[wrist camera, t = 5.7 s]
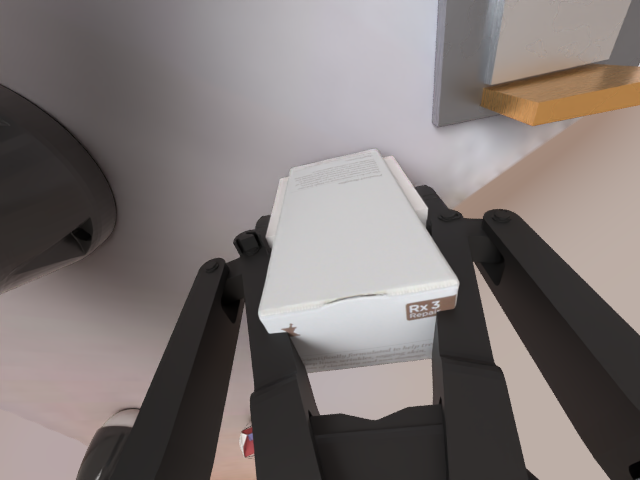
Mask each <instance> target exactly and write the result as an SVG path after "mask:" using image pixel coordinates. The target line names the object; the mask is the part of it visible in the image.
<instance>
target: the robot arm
mask: <svg viewBox="0 0 640 480" xmlns="http://www.w3.org/2000/svg"><path fill="white" fill-rule="evenodd" d="M383 159H384V160H385V162H386V164H387V166H388V167H389V169H390V170H391V172H392V174H393V175H394V177H395V178H396V180H397V182H398V183H399V185H400V187H401V188H402V190H403V192H404V193H405V195H406V196H407V198H408V200H409V201H410V203H411V205H412V206H413V208H414V209H415V211H416V213H417V214H418V216H419V218H420V219H421V221H422V223H423V224H424V226H425V227H426V229H427V231H428V232H429V234H430V236H431V237H432V239H433V240H434V242H435V244H436V245H437V247H438V248H439V250H440V252H441V253H442V255H443V256H444V258H445V259H446V261H447V262H448V264H449V266H450V267H451V269H452V270H453V272H454V273H455V275H456V276H457V278H458V280H459V288H458V295H457V303H456V306H455V308H454V309H450V310H444V311H438V312H437V314H436V322H435V331H434V339H433V348H432V376H433V405H426V406H415V407H407V408H405V409H402V410H400V411H397V412H396V413H393V414H391V415H388V416H386V417H383V418H381V419H379V420H369V419H364V418H359V417H355V416H350V415H345V414H330V415H320V414H319V411H318V409H317V406H316V403H315V399H314V396H313V393H312V389H311V385H310V382H309V378H308V375H307V371H306V368H305V365H304V364H303V362H302V360H301V358H300V356H299V354H298V352H297V350H296V348H295V346H294V344H293V342H292V340H291V338H290V336H289V334H288V332H281V333H268V331H267V330H266V328H265V326H264V325H263V323H262V322H261V320H260V318H259V315H258V309H259V305H260V301H261V297H262V293H263V289H264V285H265V281H266V276H267V271H268V266H269V261H270V257H271V252H272V248H273V243H274V238H275V234H276V229H277V225H278V221H279V216H280V212H281V208H282V203H283V198H284V194H285V189H286V186H287V181H288V177H285V178H280V181H279V185H278V189H277V193H276V197H275V201H274V205H273V209H272V213H271V215H268V216H262V217H261V218H260V219H259V220H258V221H257V224H256V227H255V230H248V231H245V232H243V233H241V234H239V235H238V236H237V237H236V238H235V239H234V242H233V243H234V245H235V247H236V249H237V251H238V253H239V255H240V258H238V259H236V260H233V261H231V262H228V263H226V262H225V261H224V260H223V259H221V258H215V259H212V260H209V261H207V262H206V263H205V264H204V265H202V266H201V268H200V269H199V271H198V274H197V276H196V278H195V281H194V283H193V286H192V288H191V290H190V293H189V295H188V297H187V300H186V302H185V304H184V307H183V309H182V311H181V314H180V316H179V319H178V321H177V323H176V326H175V328H174V330H173V333H172V335H171V337H170V340H169V342H168V345H167V347H166V349H165V352H164V354H163V356H162V359H161V361H160V363H159V366H158V368H157V370H156V373H155V375H154V378H153V380H152V382H151V385H150V387H149V389H148V392H147V394H146V396H145V399H144V401H143V403H142V406H141V408H140V411H139V413H138V415H137V418H136V420H135V422H134V425H133V427H132V429H131V432H130V434H129V437H128V439H127V441H126V444H125V446H124V448H123V451H122V453H121V455H120V458H119V460H118V462H117V465H116V467H115V470H114V472H113V474H112V476H111V477H110V479H109V480H210V476H211V472H212V468H213V463H214V458H215V453H216V448H217V443H218V437H219V432H220V427H221V422H222V417H223V412H224V406H225V401H226V396H227V391H228V386H229V380H230V375H231V370H232V365H233V360H234V355H235V349H236V344H237V339H238V334H239V329H240V323H241V318H242V313H243V308H244V303H245V305H246V314H247V323H248V332H249V341H250V350H251V359H252V368H253V377H254V392H253V393H252V394H251V397H250V411H251V422H252V433H253V444H254V455H255V466H256V477H257V480H539V479H538V478H536V477H535V476H534V475H533V474H532V473H531V472H530V471H529V470H527V469H526V467H525V462H524V458H523V454H522V450H521V445H520V441H519V437H518V433H517V428H516V424H515V420H514V415H513V412H512V407H511V402H510V398H509V394H508V389H507V385H506V381H505V378H504V374H503V372H502V370H501V368H500V367H498V366H496V365H495V363H494V359H493V355H492V350H491V346H490V341H489V336H488V331H487V327H486V322H485V317H484V313H483V308H482V303H481V299H480V294H479V289H478V284H477V280H476V275H475V270H474V266H473V262H475V264H476V266H477V268H478V269H479V271H480V273H481V274H482V276H483V277H484V279H485V281H486V283H487V284H488V286H489V287H490V289H491V291H492V292H493V294H494V296H495V297H496V299H497V301H498V302H499V304H500V306H501V307H502V309H503V311H504V312H505V314H506V316H507V317H508V319H509V320H510V322H511V324H512V325H513V327H514V329H515V330H516V332H517V334H518V335H519V337H520V339H521V340H522V342H523V343H524V345H525V347H526V348H527V350H528V352H529V353H530V355H531V356H532V358H533V360H534V362H535V363H536V365H537V367H538V368H539V370H540V371H541V373H542V375H543V377H544V378H545V380H546V381H547V383H548V385H549V386H550V388H551V389H552V391H553V393H554V395H555V396H556V398H557V400H558V401H559V403H560V405H561V406H562V408H563V410H564V411H565V413H566V414H567V416H568V418H569V419H570V421H571V422H572V424H573V426H574V428H575V429H576V431H577V433H578V434H579V436H580V437H581V439H582V440H583V442H584V443H585V445H586V446H587V448H588V449H589V451H590V452H591V454H592V455H593V457H594V459H595V460H596V461H597V462H598V464H599V465H600V466H601V468H602V469H603V470H604V472H605V473H606V474H607V476H608V477H609V478H610V479H611V480H640V335H639V334H638V333H637V332H636V331H634V329H633V328H632V327H630V325H629V324H628V323H626V322H625V320H624V319H622V318H621V317H620V316H619V315H618V314H617V313H616V312H615V311H614V310H613V309H612V308H611V307H610V306H609V305H608V304H607V303H606V302H605V301H604V300H603V299H602V298H601V297H600V296H599V295H598V294H597V293H596V292H595V291H594V290H593V289H592V288H591V287H590V286H589V285H588V284H587V283H586V282H585V281H584V280H583V279H582V278H581V277H580V276H579V275H578V274H577V273H576V272H575V271H574V270H573V269H572V268H571V267H570V266H569V265H568V264H567V263H566V262H565V261H564V260H563V259H562V258H561V257H560V256H559V255H558V254H557V253H556V252H555V251H554V250H553V249H552V248H551V247H550V246H549V245H548V244H547V243H546V242H545V241H544V240H543V239H542V238H541V237H540V236H539V235H537V233H536V232H535V231H534V230H533V229H532V228H530V226H529V225H528V224H527V223H526V222H525V221H523V219H522V218H521V217H520V216H518V215H517V214H516V213H514V212H511V211H509V210H503V209H494V210H490V211H487V212H486V213H485V214H484V216H483V219H467V218H463V216H462V214H461V213H459V212H458V211H455V210H450V209H448V207H447V206H446V205H445V204H444V202H443V201H442V200H441V199H440V198H439V196H438V195H437V194H436V192H435V191H434V190H433V189H432V188H430V187H428V186H426V185H423V186H418V187H413V185H412V184H411V182H410V181H409V179H408V178H407V176H406V175H405V173H404V172H403V170H402V169H401V167H400V166H399V164H398V163H397V161H396V160H395V158H394V157H393V156H388V157H383ZM115 221H116V207H115V202H114V198H113V195H112V192H111V189H110V187H109V185H108V183H107V181H106V179H105V177H104V175H103V174H102V172H101V170H100V169H99V167H98V166H97V164H96V163H95V162H94V160H93V159H92V158H91V156H90V155H89V154H88V153H87V151H86V150H85V149H84V148H83V147H82V146H81V145H80V144H79V142H78V141H77V140H76V139H75V138H74V137H73V136H72V135H71V134H70V133H69V132H68V131H66V130H65V129H64V128H63V127H62V126H61V125H60V124H59V123H57V122H56V121H55V120H54V119H52V118H51V117H50V116H49V115H47V114H46V113H45V112H43V111H42V110H41V109H39V108H38V107H36V106H35V105H34V104H32V103H31V102H29V101H28V100H26V99H24V98H23V97H21V96H20V95H18V94H16V93H14V92H13V91H11V90H9V89H7V88H5V87H3V86H1V85H0V295H1V294H3V293H5V292H7V291H10V290H12V289H14V288H17V287H19V286H21V285H24V284H26V283H28V282H31V281H33V280H35V279H38V278H40V277H42V276H45V275H47V274H49V273H52V272H54V271H56V270H59V269H61V268H63V267H66V266H68V265H70V264H73V263H75V262H77V261H79V260H81V259H83V258H84V257H86V256H88V255H89V254H90V253H91V252H93V251H94V250H95V249H96V248H97V247H98V246H99V245H100V244H102V243H103V242H104V241H105V240H106V239H107V238H108V237H109V236H110V234H111V233H112V231H113V229H114V226H115Z"/></svg>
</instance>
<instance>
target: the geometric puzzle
mask: <svg viewBox="0 0 640 480" xmlns="http://www.w3.org/2000/svg"><path fill="white" fill-rule="evenodd" d="M246 426H247V425H246ZM251 426H252V425H251ZM251 426H250V428H249V427H248V428H249V429H247V428H246V430H243V431H241V432H242V433H241V435H240V439H239V443H240V448H241V450H242V453H243V455H244V458H246V457H247V456H249V455H251V454H254V444H253V433H252V427H251ZM243 449H244V452H243ZM249 457H251V456H249ZM251 459H252V458H251Z"/></svg>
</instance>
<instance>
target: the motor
mask: <svg viewBox="0 0 640 480" xmlns="http://www.w3.org/2000/svg"><path fill="white" fill-rule="evenodd" d="M639 63H640V0H438V19H437V38H436V57H435V76H434V95H433V114H432V123H433V124H434V125H436V126H437V127H442V126H446V125H451V124H456V123H461V122H466V121H471V120H476V119H481V118H485V117H490V116H495V115H500V114H502V115H505V116H507V117H510V118H513V119H515V120H518V121H521V122H523V123H526V124H528V125H531V126H536V125H541V124H546V123H551V122H556V121H561V120H566V119H571V118H576V117H581V116H586V115H591V114H596V113H602V112H606V111H611V110H617V109H622V108H627V107H631V106H637V105H640V67H638V65H639Z"/></svg>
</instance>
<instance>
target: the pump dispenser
mask: <svg viewBox="0 0 640 480" xmlns="http://www.w3.org/2000/svg"><path fill="white" fill-rule="evenodd" d="M139 411H140V409H127V410H123V411H120V412H118V413H116V414H115V415H113V416H112V417H111V418H109V419H108V420H107V421H106V422H105V424H104V425H103V426H102V427H101V428H100V429H98V430H97V432H96V433H95V435H94V437H93V439H92V441H91V443H90V445H89V447H88V449H87V451H86V454H85V456H84V458H83V461H82V463H81V466H80V469H79V471H78V475H77V478H76V480H109V479H110V477H111V476H112V474H113V472H114V470H115V467H116V465H117V462H118V460H119V458H120V455H121V453H122V451H123V448H124V446H125V444H126V441H127V439H128V437H129V434H130V432H131V429H132V427H133V425H134V422H135V420H136V418H137V415H138V413H139Z"/></svg>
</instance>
